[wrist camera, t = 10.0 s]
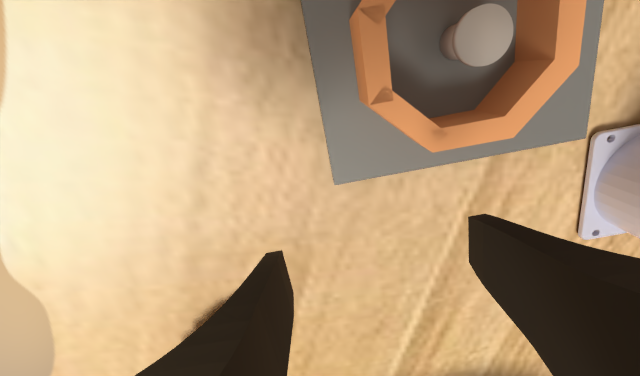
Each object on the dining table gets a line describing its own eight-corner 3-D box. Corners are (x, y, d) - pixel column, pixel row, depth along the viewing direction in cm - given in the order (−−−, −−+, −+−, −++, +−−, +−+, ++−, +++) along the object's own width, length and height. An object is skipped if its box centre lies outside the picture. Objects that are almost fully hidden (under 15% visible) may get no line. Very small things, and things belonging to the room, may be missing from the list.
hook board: (605, -143, 15) (704, -216, 11) (573, 135, 20) (634, 149, 16) (287, -74, 15) (280, -121, 12) (333, 180, 20) (338, 203, 17)
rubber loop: (545, -90, 15) (601, -128, 12) (531, 118, 18) (571, 127, 16) (340, -47, 15) (347, -75, 12) (365, 149, 19) (375, 163, 16)
